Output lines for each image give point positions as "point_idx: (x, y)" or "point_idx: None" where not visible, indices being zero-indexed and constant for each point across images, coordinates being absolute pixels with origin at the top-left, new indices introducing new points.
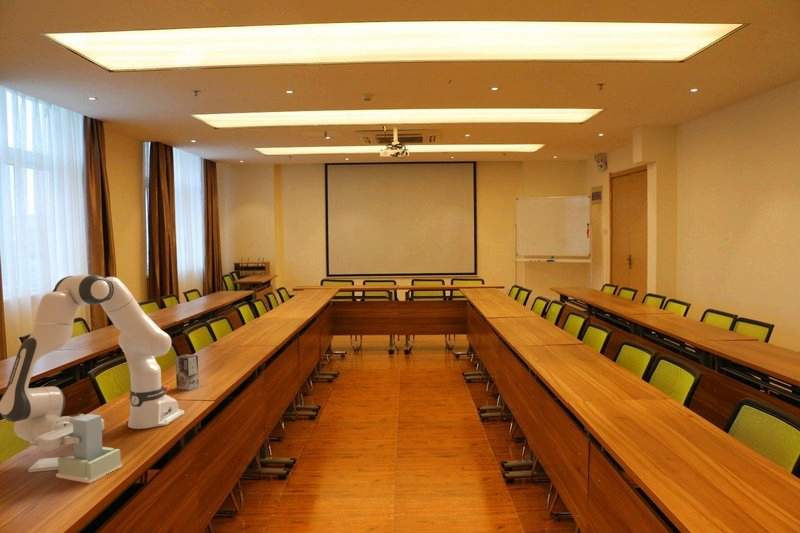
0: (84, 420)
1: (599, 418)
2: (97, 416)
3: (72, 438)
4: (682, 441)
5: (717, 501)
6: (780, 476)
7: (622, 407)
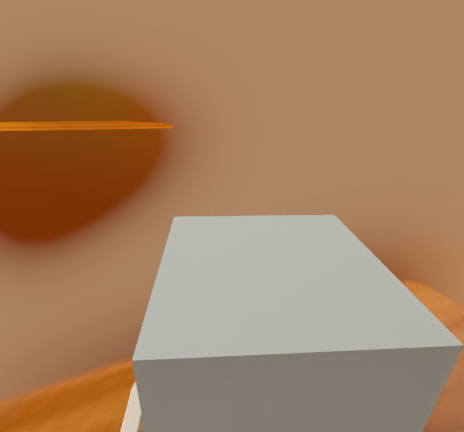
0: (334, 230)
1: (29, 129)
2: (204, 222)
3: None
4: (81, 124)
5: (151, 125)
6: (125, 121)
7: (8, 126)
